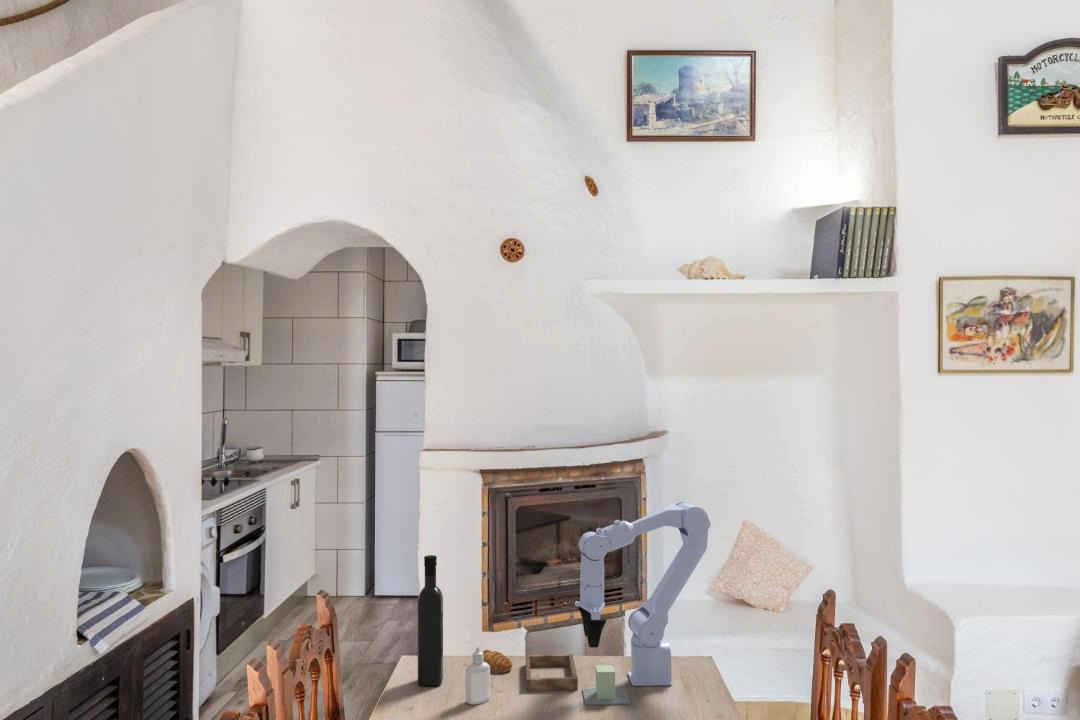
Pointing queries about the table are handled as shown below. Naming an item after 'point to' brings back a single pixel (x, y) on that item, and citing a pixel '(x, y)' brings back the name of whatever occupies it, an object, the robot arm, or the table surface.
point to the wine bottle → (430, 628)
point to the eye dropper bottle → (477, 680)
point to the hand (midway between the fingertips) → (591, 641)
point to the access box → (551, 683)
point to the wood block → (605, 682)
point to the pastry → (496, 661)
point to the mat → (592, 699)
